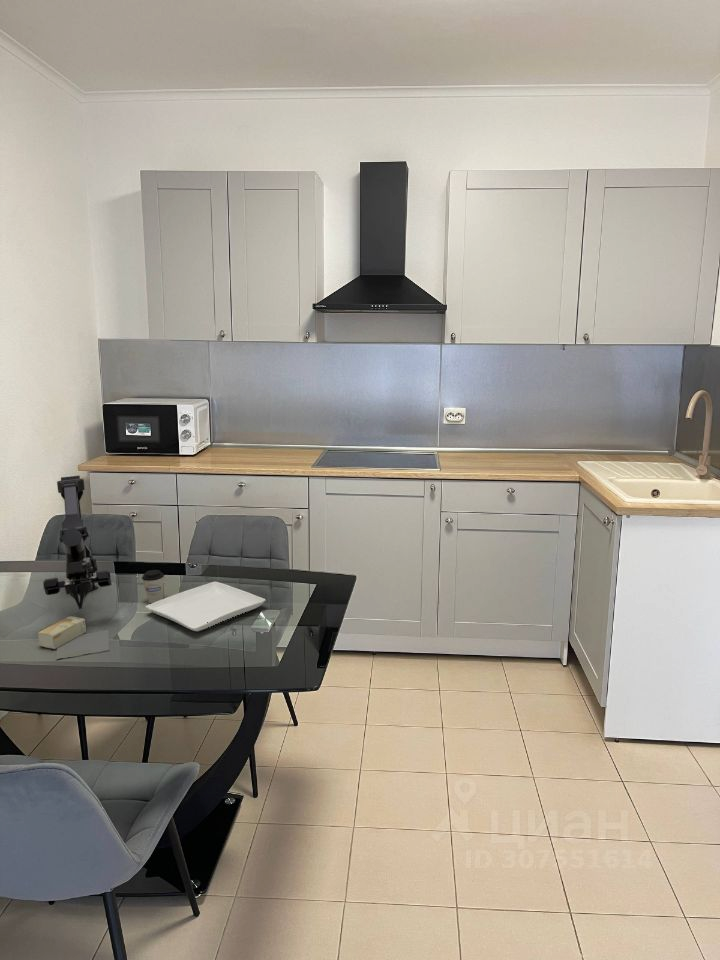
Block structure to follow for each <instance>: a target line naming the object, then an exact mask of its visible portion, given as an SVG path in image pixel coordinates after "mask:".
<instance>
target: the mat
mask: <svg viewBox="0 0 720 960" xmlns="http://www.w3.org/2000/svg"><path fill="white" fill-rule="evenodd" d="M109 632H110V631H109V629H106V630H100V631H94V632H88V633H83V634H81V635H80V636H78V637H76V638H74V639H72V640H70V641H69V642H67V643H65V644H63V645H61V646H60V647H58V648H56V653H57V652H59V651H60V652H65V651H71V652H73V651H78V650H80V651H83V650H86V649H89V650H91V651H92V650H93V651H94V652H99V651H106V652H110V651H109V650H110V637H109V636H110V635H109V634H110V633H109Z"/></svg>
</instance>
